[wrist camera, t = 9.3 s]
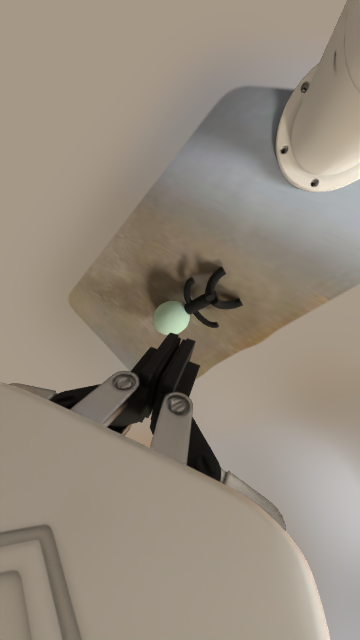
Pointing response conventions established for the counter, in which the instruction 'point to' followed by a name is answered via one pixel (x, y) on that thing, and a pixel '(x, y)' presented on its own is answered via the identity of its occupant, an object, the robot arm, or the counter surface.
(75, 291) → the counter surface
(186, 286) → the toy
